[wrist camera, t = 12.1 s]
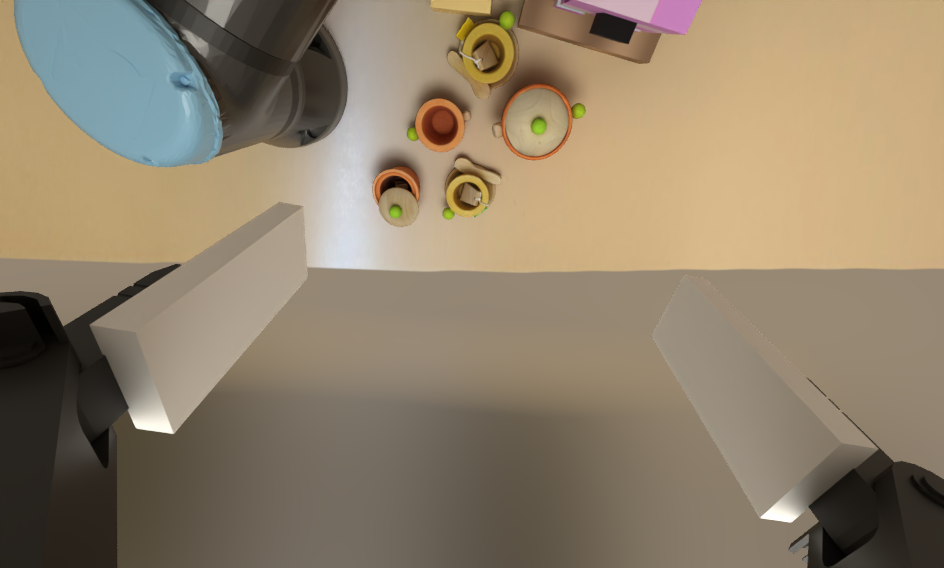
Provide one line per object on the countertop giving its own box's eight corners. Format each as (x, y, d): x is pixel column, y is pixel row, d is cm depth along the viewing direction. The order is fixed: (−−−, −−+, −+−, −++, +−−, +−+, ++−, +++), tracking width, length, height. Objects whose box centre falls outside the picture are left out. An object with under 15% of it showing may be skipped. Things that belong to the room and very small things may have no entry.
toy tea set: (486, -8, 38) (484, -30, 30) (589, 96, 43) (612, 102, 34) (362, 185, 49) (335, 208, 41) (454, 252, 54) (447, 285, 45)
